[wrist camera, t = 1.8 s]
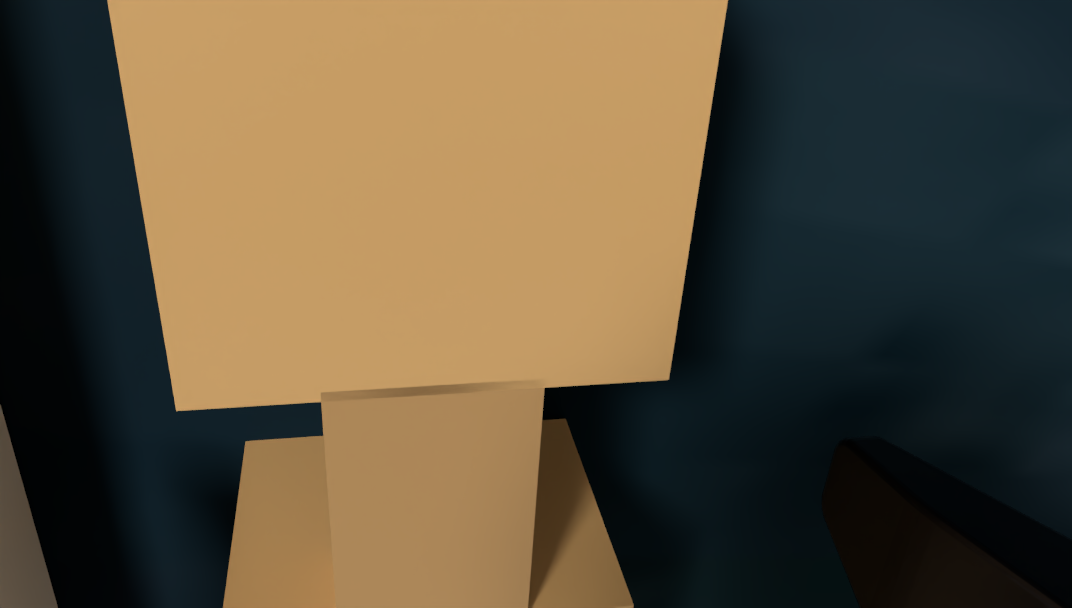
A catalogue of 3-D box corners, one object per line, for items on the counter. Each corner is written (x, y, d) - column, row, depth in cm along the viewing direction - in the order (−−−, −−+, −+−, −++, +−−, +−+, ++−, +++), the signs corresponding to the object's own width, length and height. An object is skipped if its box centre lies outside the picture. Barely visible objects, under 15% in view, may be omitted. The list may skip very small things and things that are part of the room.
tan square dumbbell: (616, -160, 9) (749, -138, 6) (545, 629, 15) (597, 837, 12) (168, -187, 8) (77, -175, 6) (273, 661, 14) (257, 893, 11)
